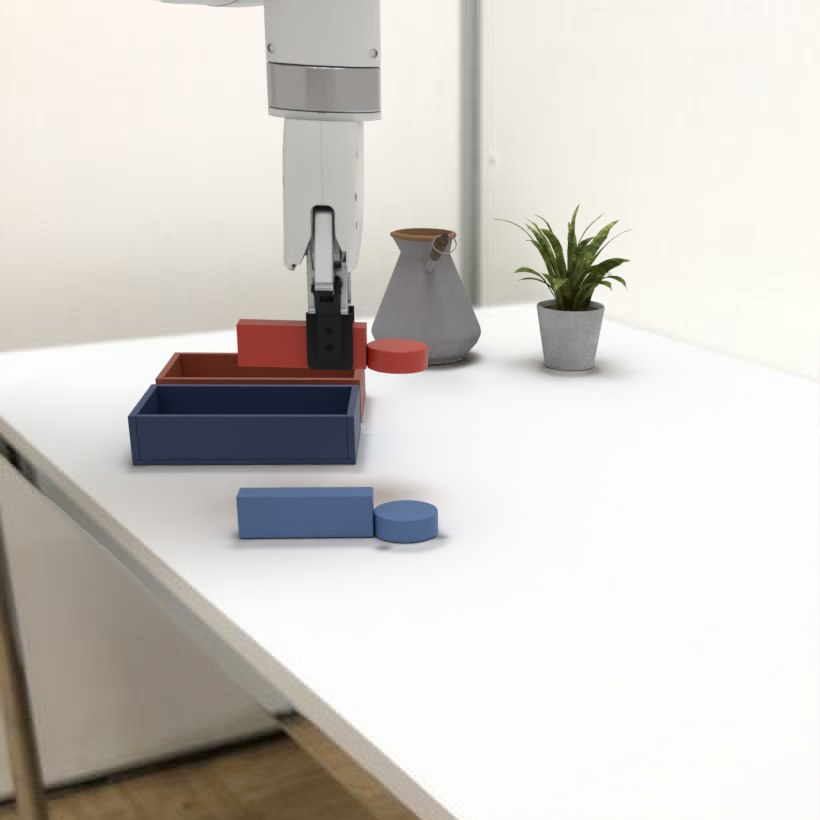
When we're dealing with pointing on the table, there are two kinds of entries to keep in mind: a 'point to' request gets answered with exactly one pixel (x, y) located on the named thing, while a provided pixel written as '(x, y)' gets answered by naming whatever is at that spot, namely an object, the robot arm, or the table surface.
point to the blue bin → (245, 424)
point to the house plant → (571, 296)
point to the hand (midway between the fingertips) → (331, 362)
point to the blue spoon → (331, 514)
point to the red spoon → (289, 347)
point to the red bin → (251, 373)
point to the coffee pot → (427, 297)
